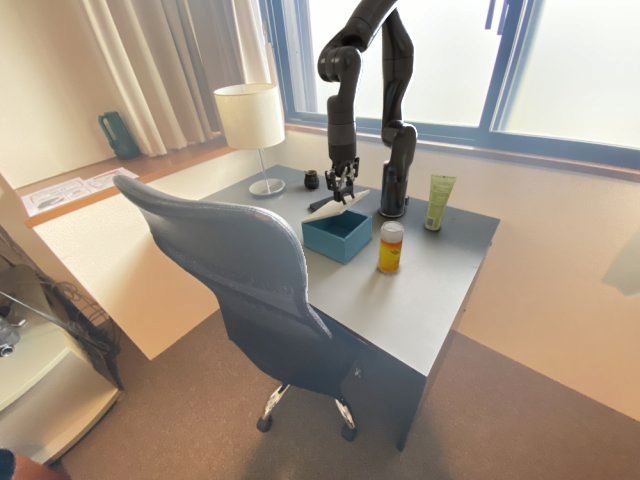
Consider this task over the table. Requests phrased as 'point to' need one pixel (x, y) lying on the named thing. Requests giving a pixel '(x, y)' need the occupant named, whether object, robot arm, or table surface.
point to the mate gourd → (311, 179)
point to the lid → (337, 205)
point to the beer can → (390, 246)
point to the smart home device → (323, 202)
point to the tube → (438, 199)
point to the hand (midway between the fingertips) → (343, 197)
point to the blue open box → (338, 234)
